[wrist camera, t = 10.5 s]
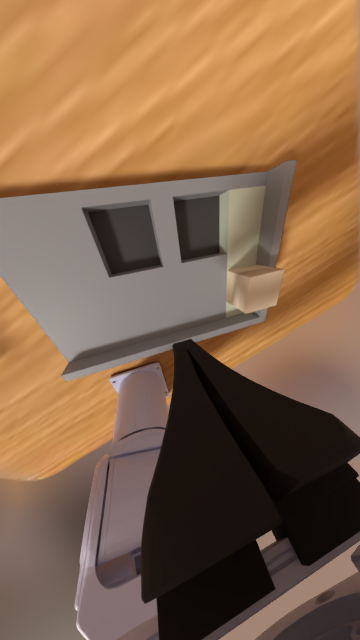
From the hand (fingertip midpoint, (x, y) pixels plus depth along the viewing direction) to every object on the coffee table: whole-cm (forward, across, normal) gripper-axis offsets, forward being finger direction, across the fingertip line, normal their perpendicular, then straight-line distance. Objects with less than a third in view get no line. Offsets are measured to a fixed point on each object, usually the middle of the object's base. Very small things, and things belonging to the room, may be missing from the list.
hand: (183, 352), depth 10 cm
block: (+8, -10, -1) cm, 13 cm away
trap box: (+10, 0, -3) cm, 11 cm away
